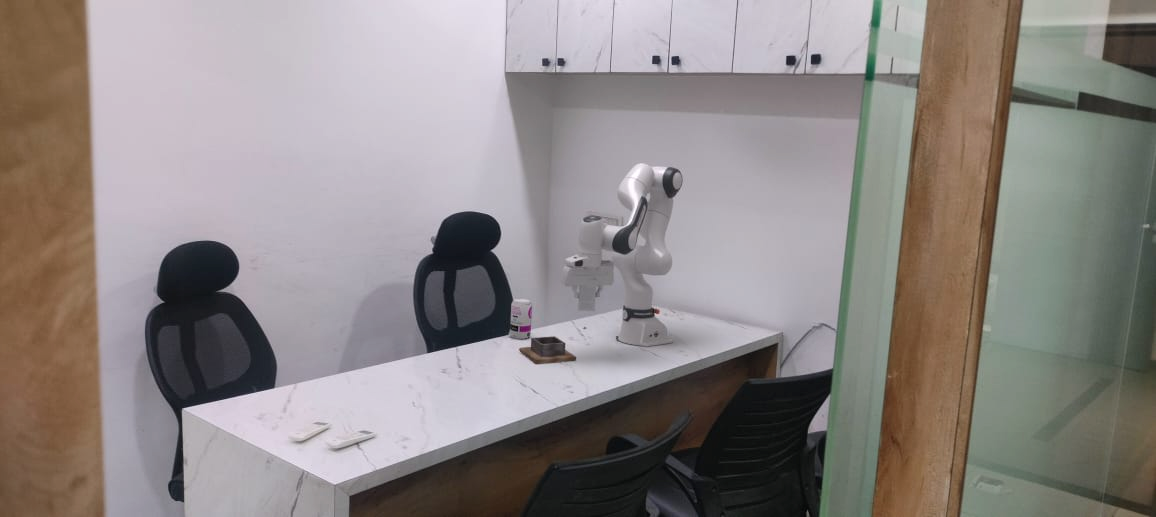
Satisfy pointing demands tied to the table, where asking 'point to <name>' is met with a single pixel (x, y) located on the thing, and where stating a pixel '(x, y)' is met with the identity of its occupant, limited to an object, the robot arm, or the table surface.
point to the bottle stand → (547, 351)
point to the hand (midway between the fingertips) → (586, 297)
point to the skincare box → (587, 296)
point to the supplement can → (521, 318)
